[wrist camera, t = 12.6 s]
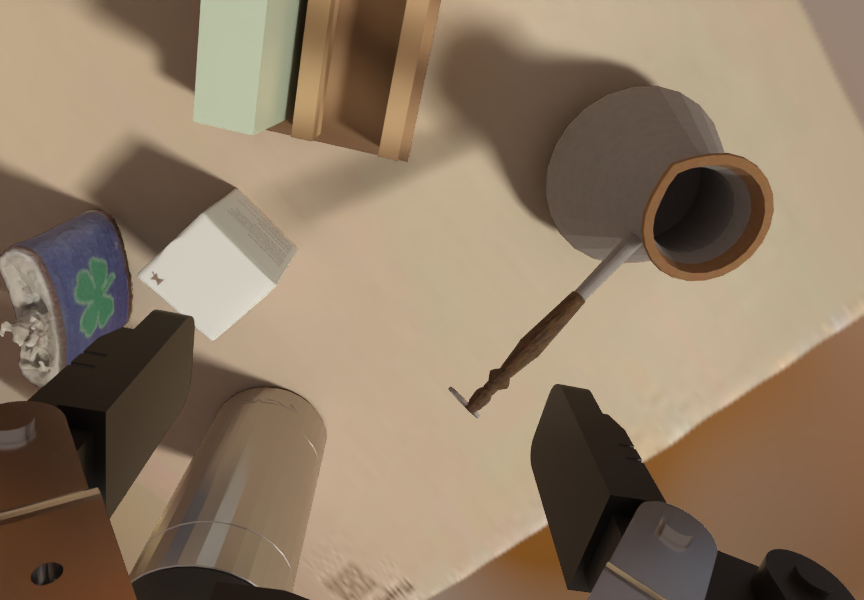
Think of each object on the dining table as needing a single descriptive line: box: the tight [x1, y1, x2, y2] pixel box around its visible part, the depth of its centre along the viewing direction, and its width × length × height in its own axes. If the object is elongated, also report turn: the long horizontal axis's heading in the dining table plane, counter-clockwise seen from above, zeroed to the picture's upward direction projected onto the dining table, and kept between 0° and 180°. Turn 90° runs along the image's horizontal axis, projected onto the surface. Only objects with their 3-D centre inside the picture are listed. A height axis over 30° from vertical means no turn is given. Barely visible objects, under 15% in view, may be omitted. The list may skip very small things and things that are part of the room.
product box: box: [137, 188, 298, 341], centre depth 37 cm, size 6×6×7 cm
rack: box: [266, 0, 441, 162], centre depth 33 cm, size 13×13×4 cm
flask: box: [0, 210, 133, 387], centre depth 36 cm, size 9×3×11 cm, turn 175°
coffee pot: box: [449, 86, 774, 418], centre depth 33 cm, size 21×12×15 cm, turn 129°
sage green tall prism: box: [193, 0, 308, 135], centre depth 29 cm, size 3×9×10 cm, turn 167°
